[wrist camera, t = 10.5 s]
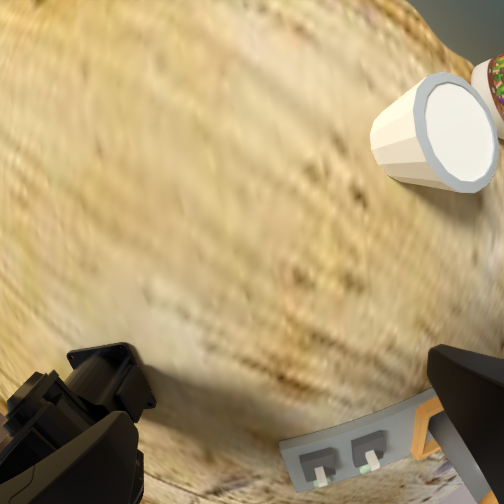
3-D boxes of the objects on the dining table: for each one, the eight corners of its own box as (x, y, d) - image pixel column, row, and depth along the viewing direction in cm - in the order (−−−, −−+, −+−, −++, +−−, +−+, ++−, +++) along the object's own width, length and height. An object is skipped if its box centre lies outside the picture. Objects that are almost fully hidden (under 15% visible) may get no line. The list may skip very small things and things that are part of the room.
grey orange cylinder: (421, 436, 23) (476, 525, 9) (437, 403, 22) (508, 495, 8) (452, 426, 23) (510, 503, 9) (468, 394, 22) (539, 471, 8)
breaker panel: (295, 485, 25) (299, 512, 21) (278, 441, 23) (282, 474, 19) (465, 417, 24) (481, 436, 20) (476, 362, 22) (498, 381, 18)
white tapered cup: (446, 182, 19) (508, 184, 12) (375, 199, 19) (432, 205, 12) (424, 98, 18) (480, 74, 11) (349, 105, 18) (396, 70, 11)
